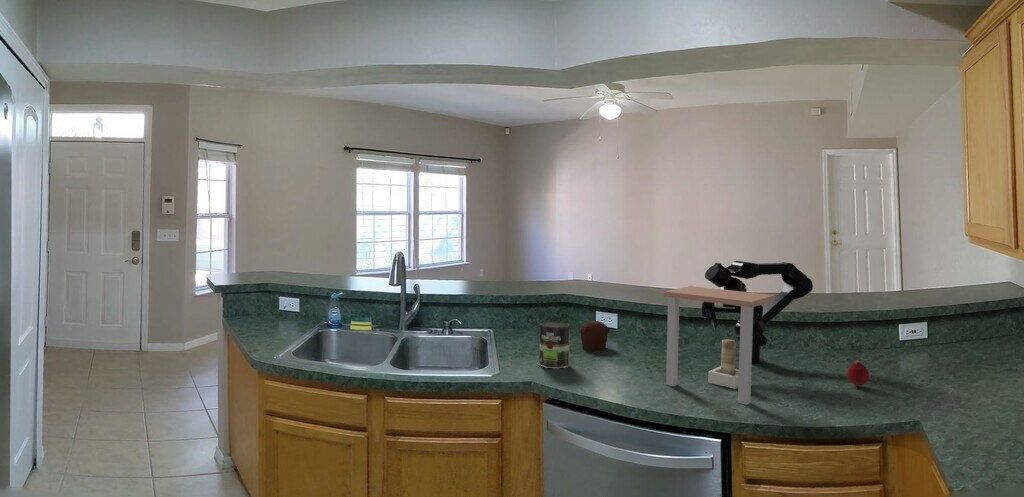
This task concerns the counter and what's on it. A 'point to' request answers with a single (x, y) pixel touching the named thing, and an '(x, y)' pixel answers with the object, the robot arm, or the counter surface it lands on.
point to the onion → (857, 373)
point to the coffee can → (554, 344)
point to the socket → (723, 378)
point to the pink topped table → (746, 329)
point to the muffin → (594, 335)
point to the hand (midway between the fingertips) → (731, 332)
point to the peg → (728, 357)
